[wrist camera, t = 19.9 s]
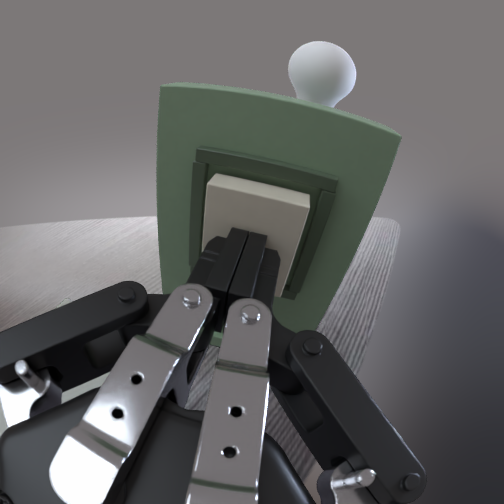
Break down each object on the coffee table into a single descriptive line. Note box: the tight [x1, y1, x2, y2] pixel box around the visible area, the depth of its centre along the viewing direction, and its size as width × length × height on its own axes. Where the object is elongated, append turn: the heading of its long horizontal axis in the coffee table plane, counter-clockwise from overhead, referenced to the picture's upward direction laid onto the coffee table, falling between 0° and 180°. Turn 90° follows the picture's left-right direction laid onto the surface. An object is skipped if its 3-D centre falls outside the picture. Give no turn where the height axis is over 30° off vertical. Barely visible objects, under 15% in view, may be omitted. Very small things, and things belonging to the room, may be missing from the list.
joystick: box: [288, 41, 356, 108], centre depth 20 cm, size 11×8×20 cm
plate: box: [157, 82, 402, 347], centre depth 15 cm, size 3×10×16 cm, turn 79°
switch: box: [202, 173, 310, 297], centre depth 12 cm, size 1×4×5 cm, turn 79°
